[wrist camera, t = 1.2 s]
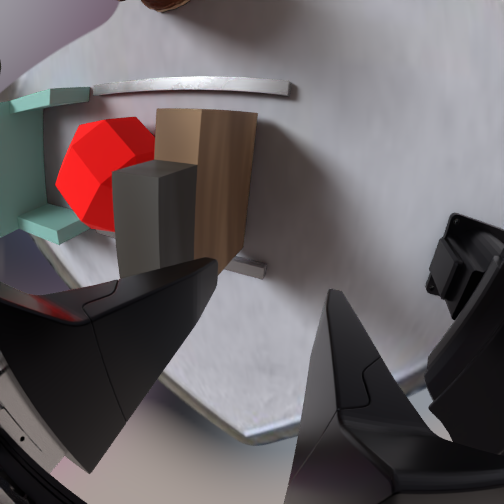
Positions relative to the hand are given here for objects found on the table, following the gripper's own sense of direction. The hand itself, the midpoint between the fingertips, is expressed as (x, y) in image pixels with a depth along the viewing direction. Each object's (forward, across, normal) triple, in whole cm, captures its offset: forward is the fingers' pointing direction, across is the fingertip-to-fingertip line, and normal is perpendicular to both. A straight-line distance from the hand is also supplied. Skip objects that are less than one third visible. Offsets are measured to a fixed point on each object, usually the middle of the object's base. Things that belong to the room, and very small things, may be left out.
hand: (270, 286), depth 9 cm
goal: (+13, +27, 0) cm, 30 cm away
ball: (+13, +15, 0) cm, 20 cm away
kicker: (+13, +6, 0) cm, 14 cm away
